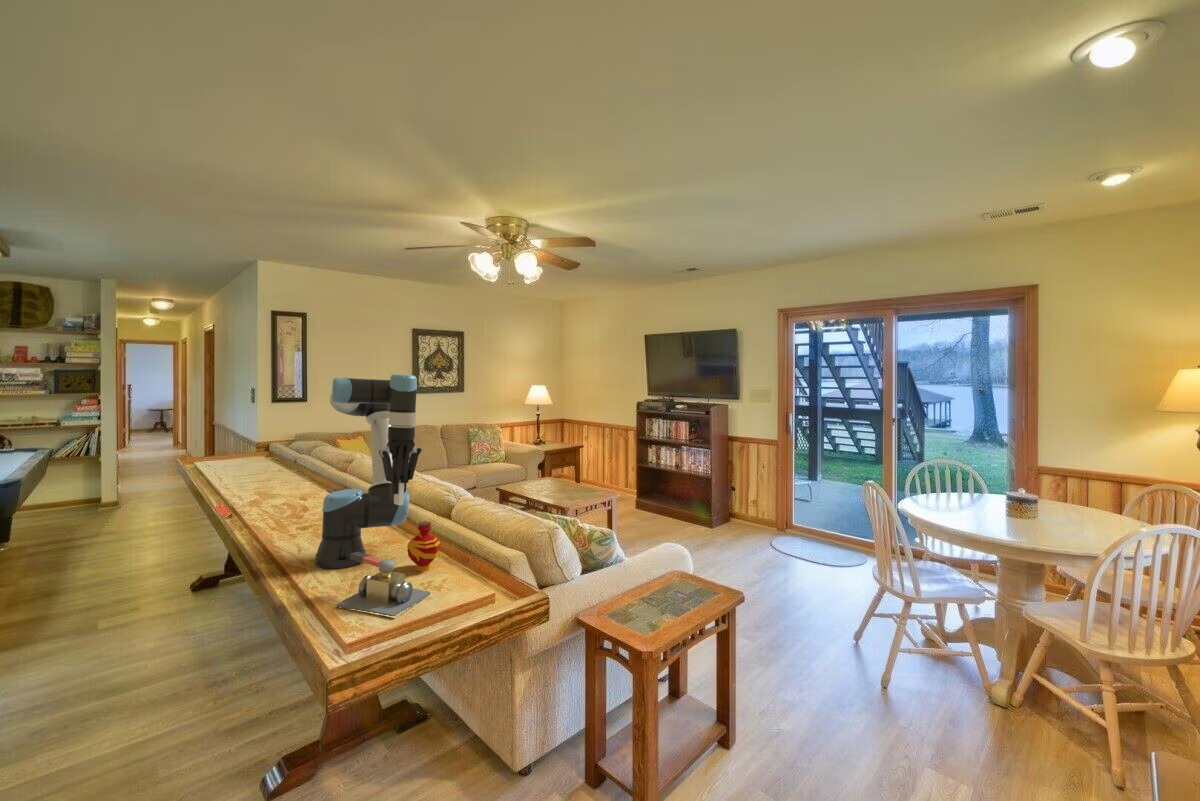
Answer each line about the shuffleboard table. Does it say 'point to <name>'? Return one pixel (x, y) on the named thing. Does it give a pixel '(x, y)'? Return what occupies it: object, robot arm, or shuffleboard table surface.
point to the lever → (373, 561)
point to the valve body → (386, 588)
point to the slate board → (390, 609)
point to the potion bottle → (423, 547)
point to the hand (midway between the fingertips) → (398, 504)
